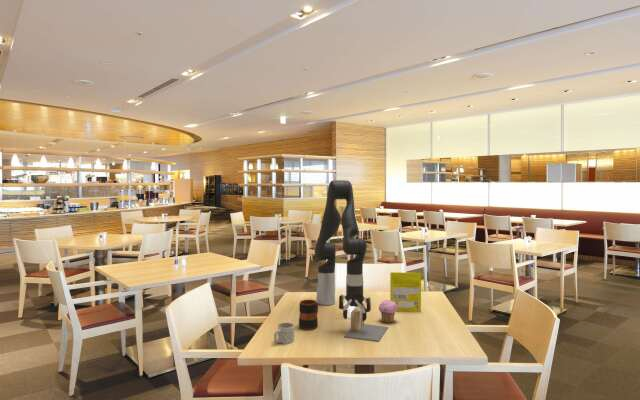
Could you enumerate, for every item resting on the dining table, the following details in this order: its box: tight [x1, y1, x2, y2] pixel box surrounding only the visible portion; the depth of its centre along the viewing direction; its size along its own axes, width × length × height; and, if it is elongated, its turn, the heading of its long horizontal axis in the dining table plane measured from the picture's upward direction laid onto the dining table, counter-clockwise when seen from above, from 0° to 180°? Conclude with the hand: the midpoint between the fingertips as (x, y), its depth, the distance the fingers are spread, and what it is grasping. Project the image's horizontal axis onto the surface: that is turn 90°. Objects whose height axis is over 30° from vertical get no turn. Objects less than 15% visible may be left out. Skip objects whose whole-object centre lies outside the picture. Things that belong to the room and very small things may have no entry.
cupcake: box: [378, 299, 398, 323], centre depth 204 cm, size 9×9×10 cm
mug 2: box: [298, 299, 319, 331], centre depth 198 cm, size 9×12×12 cm
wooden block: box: [350, 306, 365, 331], centre depth 195 cm, size 3×8×10 cm
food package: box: [389, 271, 422, 313], centre depth 219 cm, size 15×1×20 cm, turn 84°
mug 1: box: [273, 322, 295, 345], centre depth 179 cm, size 10×7×7 cm
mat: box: [343, 323, 389, 343], centre depth 190 cm, size 15×18×1 cm
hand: (354, 319), depth 191 cm, fingers open, 8 cm apart
